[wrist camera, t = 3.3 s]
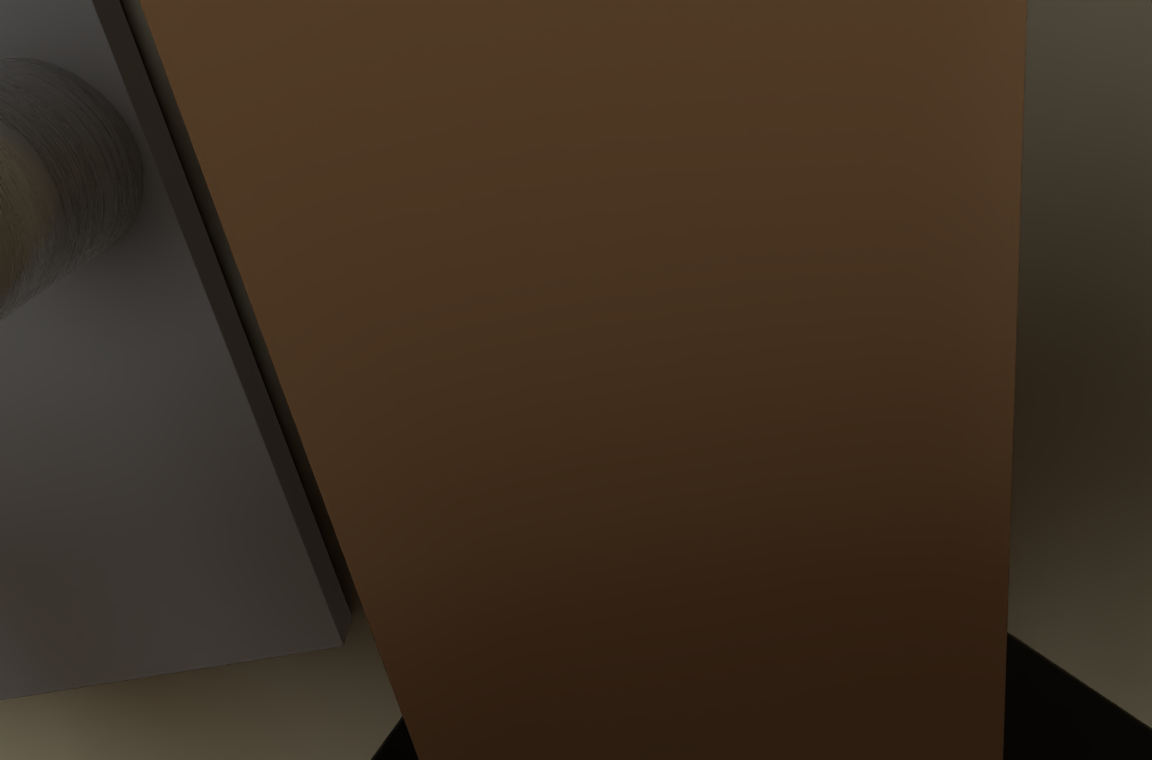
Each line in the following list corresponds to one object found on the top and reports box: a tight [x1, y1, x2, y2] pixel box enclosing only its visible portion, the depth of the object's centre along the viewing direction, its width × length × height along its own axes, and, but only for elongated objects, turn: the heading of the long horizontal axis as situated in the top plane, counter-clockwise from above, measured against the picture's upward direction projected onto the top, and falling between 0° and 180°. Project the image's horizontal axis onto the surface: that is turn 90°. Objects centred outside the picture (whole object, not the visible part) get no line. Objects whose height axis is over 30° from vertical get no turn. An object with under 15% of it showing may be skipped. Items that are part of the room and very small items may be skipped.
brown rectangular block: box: [139, 0, 1027, 760], centre depth 6 cm, size 12×4×6 cm, turn 11°
